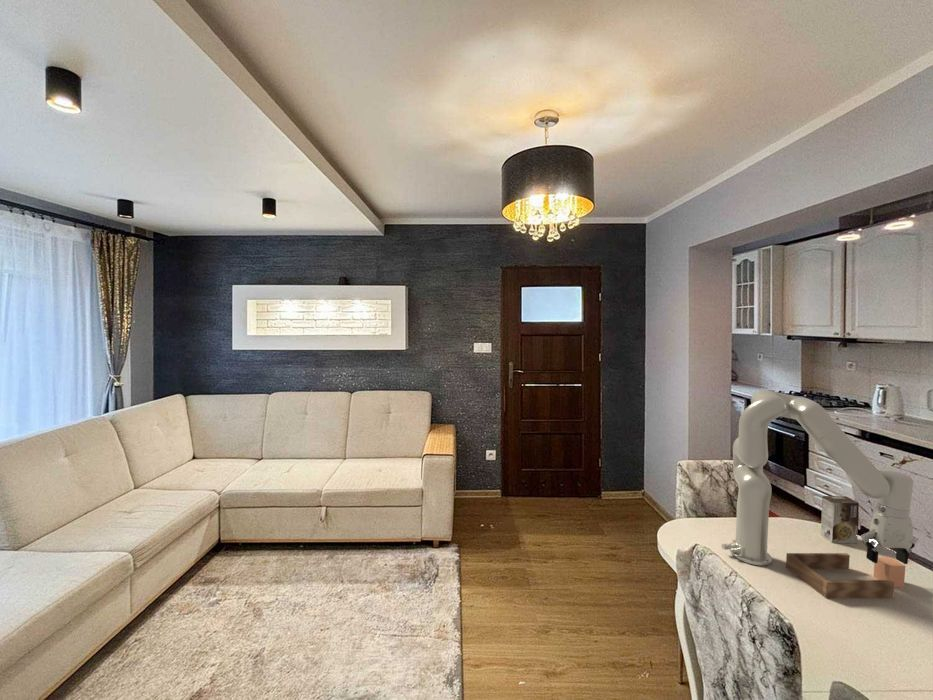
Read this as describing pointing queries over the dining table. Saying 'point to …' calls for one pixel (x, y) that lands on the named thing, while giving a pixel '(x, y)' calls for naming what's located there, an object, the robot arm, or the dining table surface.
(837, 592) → the brown wooden u-shaped block
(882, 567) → the terracotta block
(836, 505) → the coffee box
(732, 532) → the dining table surface
